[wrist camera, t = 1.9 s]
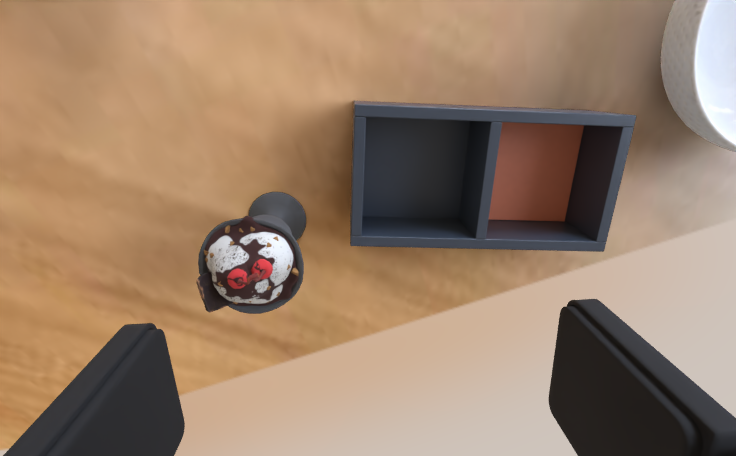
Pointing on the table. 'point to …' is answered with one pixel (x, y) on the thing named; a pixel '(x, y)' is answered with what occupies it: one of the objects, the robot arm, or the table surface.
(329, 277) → the table surface
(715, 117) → the cereal bowl
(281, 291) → the sundae
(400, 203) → the caddy
